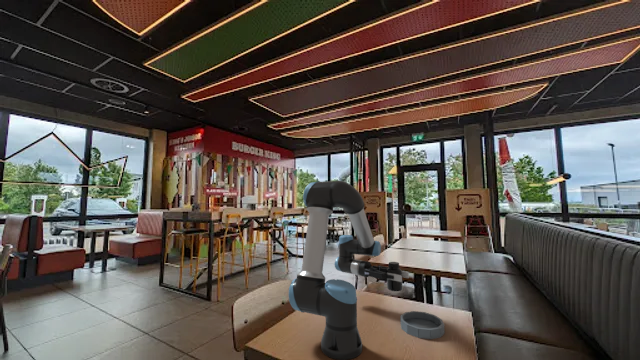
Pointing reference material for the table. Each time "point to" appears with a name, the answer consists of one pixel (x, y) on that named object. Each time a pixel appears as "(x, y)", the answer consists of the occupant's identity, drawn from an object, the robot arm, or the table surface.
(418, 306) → the table surface
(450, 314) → the table surface
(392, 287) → the supplement bottle
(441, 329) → the bowl
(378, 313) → the table surface
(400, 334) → the table surface
